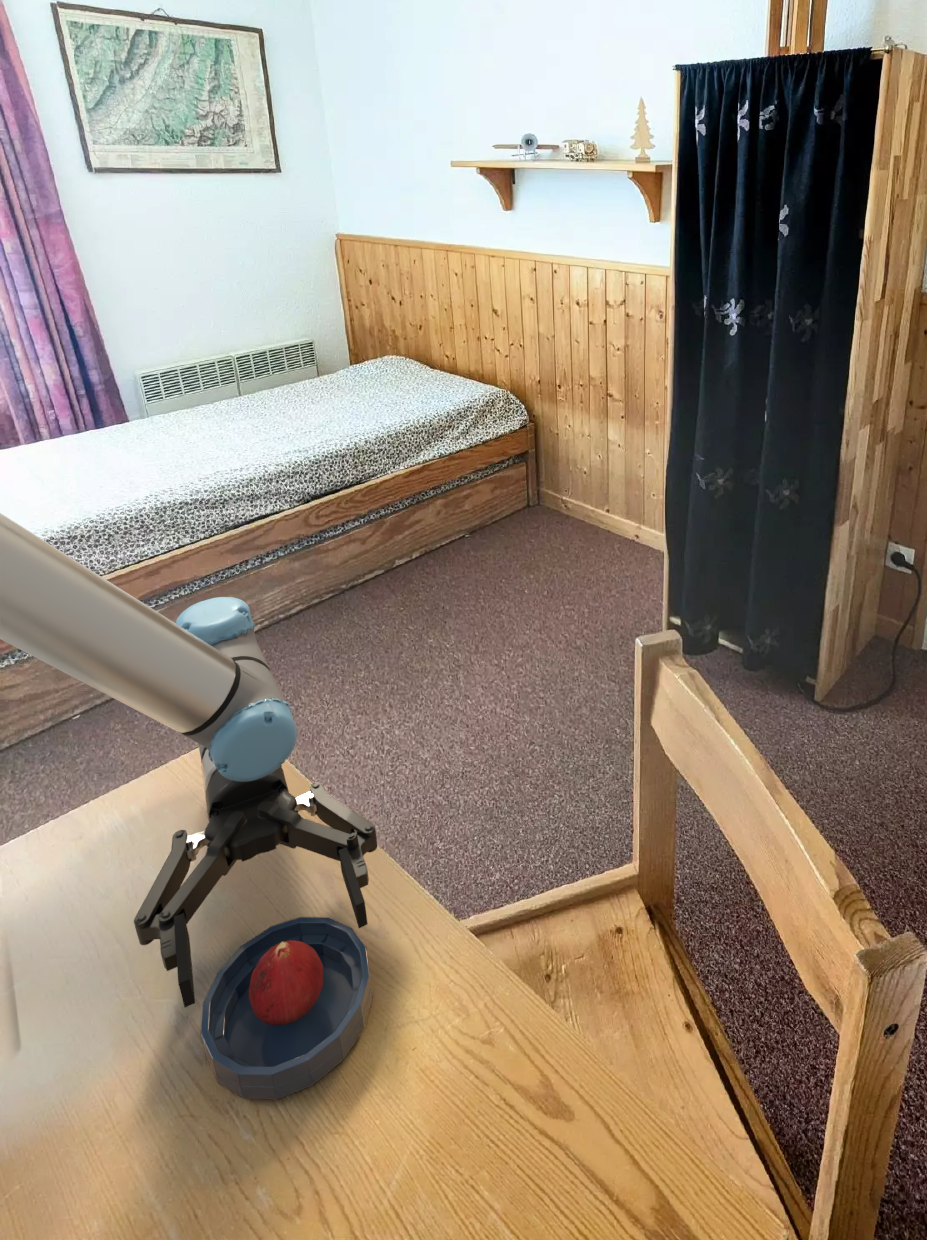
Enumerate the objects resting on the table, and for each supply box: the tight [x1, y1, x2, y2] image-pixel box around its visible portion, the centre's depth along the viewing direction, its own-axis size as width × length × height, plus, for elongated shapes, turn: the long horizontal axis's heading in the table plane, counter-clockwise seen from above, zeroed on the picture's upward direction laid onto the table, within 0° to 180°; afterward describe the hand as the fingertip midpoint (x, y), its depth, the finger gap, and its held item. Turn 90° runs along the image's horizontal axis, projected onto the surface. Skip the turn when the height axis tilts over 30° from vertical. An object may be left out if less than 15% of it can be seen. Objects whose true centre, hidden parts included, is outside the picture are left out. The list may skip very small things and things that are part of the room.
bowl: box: [200, 916, 374, 1100], centre depth 67 cm, size 13×13×4 cm
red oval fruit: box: [249, 940, 323, 1025], centre depth 66 cm, size 6×6×8 cm
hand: (278, 953), depth 65 cm, fingers open, 13 cm apart
